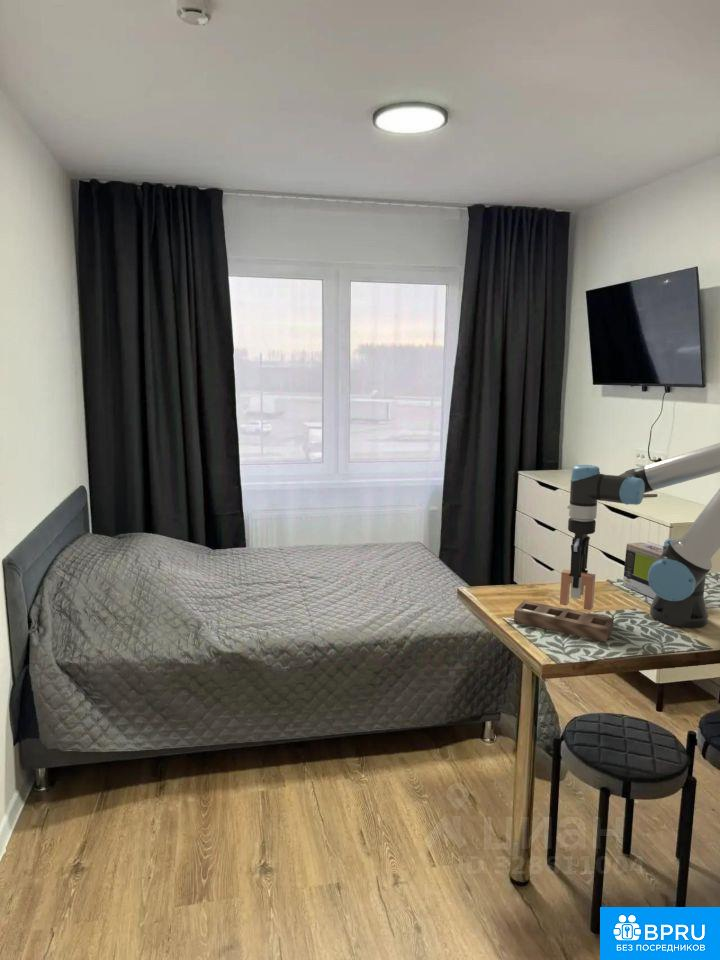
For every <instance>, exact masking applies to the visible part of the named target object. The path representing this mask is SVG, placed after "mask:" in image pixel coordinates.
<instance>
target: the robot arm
mask: <svg viewBox="0 0 720 960" xmlns="http://www.w3.org/2000/svg"><path fill="white" fill-rule="evenodd" d="M717 473H720V442H717V443H714V444H712V445H709V446H704V447H703V448H699V449H696V450H691V451H689V452H686V453H682V454H679V455H676V456H672V457H669V458H666V459H663V460H660V461H659V460H658V461H656V462H652V463H649V464H647V465H645V466H640V467H637V468H631V469H629V470H626V471H625V472H622V473H621V474H619V475H614V474H604V473H601V470H600V468H599V466H597V465H592V464H577V465H574V466H573V467H572V469H571V478H570V489H569V493H570V494H569V505H568V506H567V508H566V509H568V510H569V511H568V516H569V518H568V522H567V530H568V531H569V532H570V533H573V534H574V537H572V539H571V540H572V541H571V543H572V544H571V546H570V550H571V551H570V553H571V554H570V570H571V571H570V574H569V576H572V582H571V583H570V598H573V599H577V600H581V597H582V596H584V593H585V586H583V585H581V584H582V577H581V572H583V573H589V571H588V570H587V568H588V555H589V544H590V539H591V537H590V536H589V535H593V534H594V533H595V532H596V522H597V521H596V519H597V512H598V501H599V502H601V501H602V502H610V503H615V504H616V503H617V504H622V505H623V504H624V505H628V506H629V505H635V506H637V505H640V504H641V503H642V502H643V500H644V496H645V494H646V493H649V492H653V491H656V490H659V489H663V488H667V487H670V486H673V485H677V484H681V483H684V482H688V481H692V480H696V479H699V478H703V477H706V476H709V475H714V474H717ZM662 546H663V553H662V554H661V555H660V557H659V558H658V559H657V561H656V562H654V563H653V564H652V565H651V566H650V568H649V572H648V582H649V585H650V587H651V589H652V590H653V591H654V593H656V596H655V598H653V600H652V603H651V604H650V607H649V614H650V616H651V618H653V619H655V620H656V621H658V622H661V623H663V624H666V625H669V626H674V627H679V628H692V629H694V628H701V627H705V626H706V625H707V624H708V620H709V619H708V618H709V614H708V610H707V605H706V601H705V597H704V596H705V595H704V593H705V587H706V577H707V574H709V572H710V571H711V569H713V563H712V558H713V557H714V555H716V553H717V552H718V551H719V550H720V488H719V489H718V490H717V491H716V493H715V494H714V495H713V497H712V498H711V499H710V500H709V502H708V503H707V505H706V506H705V507H704V508H703V510H702V511H701V512H700V514H699V515H698V516H697V517H696V518H695V520H694V522H693V523H692V524H691V525H690V527H689V528H688V529H687V530H686V531H685V533H684V534H683V536H681V538H680V539H678V538H667V539H665V540H664V542H663V545H662Z"/></svg>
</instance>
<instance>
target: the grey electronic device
mask: <svg viewBox="0 0 720 960" xmlns="http://www.w3.org/2000/svg"><path fill="white" fill-rule="evenodd" d="M663 546H664V545H660V544H657V543H655V542H650V541H642V542H632V543H631V542H630V543H626V548H625V558H624V571H623V579H622V581H623V582H622V586H624V587H626V588H628V589H631V590H633V591H635V592H638V593H640V594H642V595H645V596H647V597H650V598H651V599H654V598H655V596H656V593H654V591H653V590H652V589H651V587H650V585H649V582H648V572H649V568H650V566H651V565H652V564H653V563H654V562H656V561H657V559H658V558H659V557H660V555H661V554H662V553H663Z"/></svg>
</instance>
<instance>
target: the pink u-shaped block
mask: <svg viewBox="0 0 720 960" xmlns="http://www.w3.org/2000/svg"><path fill="white" fill-rule="evenodd" d="M570 571H571V569H569V570H568V569H563V570H562V571H561V574H560V579H561V580H560V594H559V595H560V596H559V605H561V606H565V607H566V606H568V605H569V603H570V595H571V582H572V576H569V574H570ZM581 577H582V584H581V585H583V586H584V599H583V600H584V601H583V610H586V611H587V610H589V611H592V609H593V608H594V602H595V601H594V599H595V587H596V586H595V585H596V584H595V583H596V574H595V573H594V574H593V573H589V572H588V573H583V572H581Z"/></svg>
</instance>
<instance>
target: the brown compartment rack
mask: <svg viewBox="0 0 720 960" xmlns="http://www.w3.org/2000/svg"><path fill="white" fill-rule="evenodd" d="M513 613H514V614H513V622H514V623H518V624H523V625H526V626H527V625H528V626H531V627H535V628H540V627H541V629H545V628H546V629H545V630H549V629H551V630H550V631H555V632H558V631H559V633H563V632H564V633H563V634H567V633H568V635H573V636H576V635H577V636H578V637H581V638H585V637H586V638H585V639H590V638H591V639H590V640H594V639H595V641H600V642H603V641H604V643H607V642H606V641H608V640H609V637H610V636H611V634H612V632H613V629H614V628H613V627H614V621H615V619H614V618H613V617H607V616H602V615H599V614H593V613H590V612H589V613H588V612H583V611H579V610H578V611H577V610H574V609H568V608H563V607H560V606H559V607H558V606H554V605H550V604H549V605H548V604H544V603H540V602H535V601H534V602H533V601H529V600H523V601H522V602H521V603H519V605H518V606H517V607H516V608H515V609H514V611H513ZM607 639H608V640H607Z"/></svg>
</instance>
